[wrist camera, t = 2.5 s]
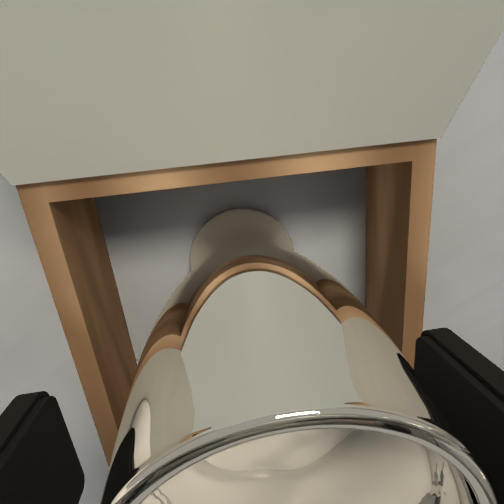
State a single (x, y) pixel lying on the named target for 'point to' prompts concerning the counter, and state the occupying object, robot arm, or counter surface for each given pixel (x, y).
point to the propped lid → (227, 79)
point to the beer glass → (280, 392)
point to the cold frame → (85, 189)
